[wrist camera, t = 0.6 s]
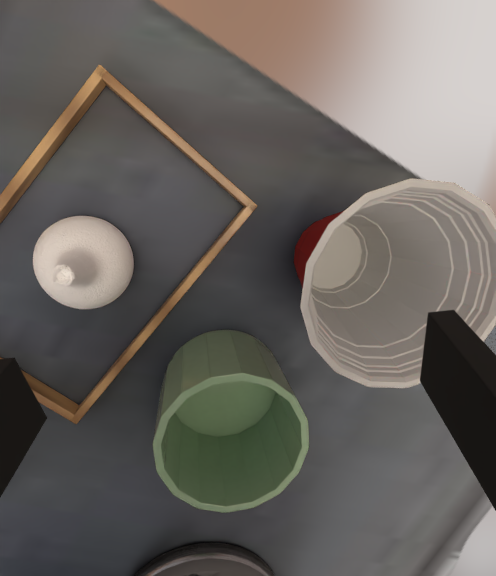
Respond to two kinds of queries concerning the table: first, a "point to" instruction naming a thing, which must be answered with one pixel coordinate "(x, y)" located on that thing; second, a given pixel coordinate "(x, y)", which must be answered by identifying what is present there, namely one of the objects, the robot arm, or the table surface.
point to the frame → (75, 412)
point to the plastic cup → (396, 277)
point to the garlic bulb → (83, 262)
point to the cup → (227, 424)
